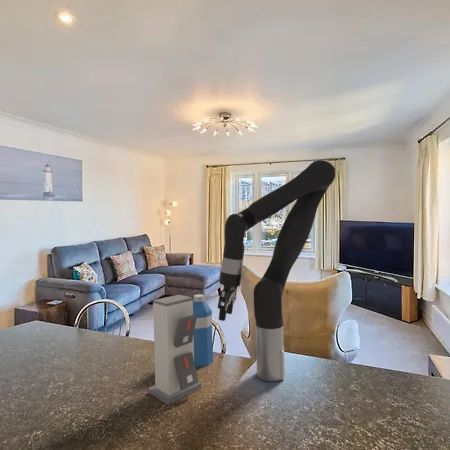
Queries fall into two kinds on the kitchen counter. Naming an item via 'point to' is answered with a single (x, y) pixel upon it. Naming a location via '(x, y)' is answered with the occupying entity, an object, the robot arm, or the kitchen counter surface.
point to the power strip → (170, 347)
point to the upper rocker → (185, 330)
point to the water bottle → (202, 332)
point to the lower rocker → (186, 370)
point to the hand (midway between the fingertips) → (225, 316)
